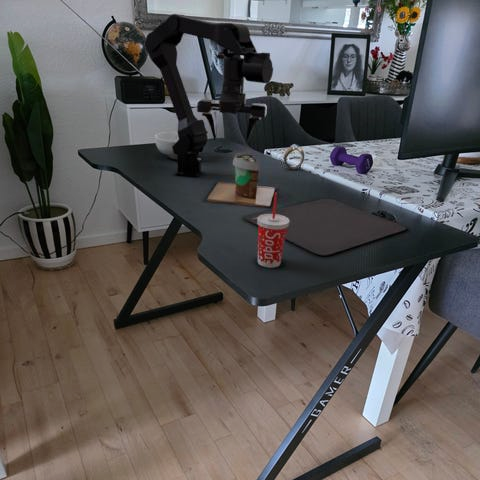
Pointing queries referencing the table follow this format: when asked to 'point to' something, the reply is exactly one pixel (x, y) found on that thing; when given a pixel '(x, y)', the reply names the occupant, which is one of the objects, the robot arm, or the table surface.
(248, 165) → the food container
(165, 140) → the cereal bowl
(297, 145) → the ring
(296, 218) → the mouse pad
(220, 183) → the placemat
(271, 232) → the beverage cup
